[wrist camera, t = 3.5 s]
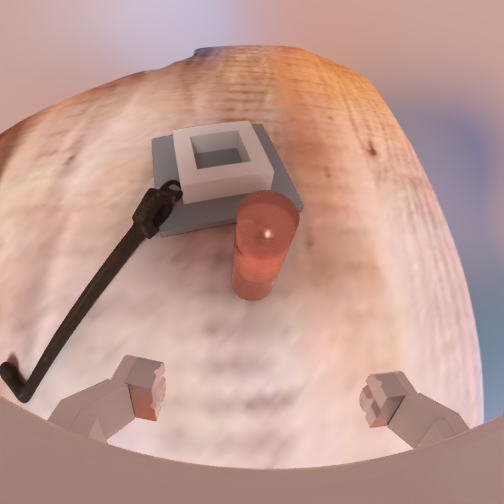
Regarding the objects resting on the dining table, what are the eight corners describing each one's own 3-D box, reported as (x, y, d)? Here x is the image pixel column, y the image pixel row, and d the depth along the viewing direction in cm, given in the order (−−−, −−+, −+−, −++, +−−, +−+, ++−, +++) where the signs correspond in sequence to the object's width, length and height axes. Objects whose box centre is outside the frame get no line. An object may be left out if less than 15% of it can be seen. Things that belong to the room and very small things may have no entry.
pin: (237, 304, 26) (247, 246, 17) (227, 267, 28) (230, 195, 18) (277, 294, 27) (308, 233, 17) (265, 259, 29) (286, 186, 19)
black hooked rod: (14, 373, 21) (160, 182, 32) (39, 405, 20) (192, 202, 31) (-14, 369, 16) (151, 153, 27) (10, 407, 15) (187, 173, 26)
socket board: (161, 237, 29) (154, 215, 25) (152, 144, 36) (148, 122, 32) (301, 211, 32) (309, 188, 29) (260, 128, 39) (263, 107, 36)
